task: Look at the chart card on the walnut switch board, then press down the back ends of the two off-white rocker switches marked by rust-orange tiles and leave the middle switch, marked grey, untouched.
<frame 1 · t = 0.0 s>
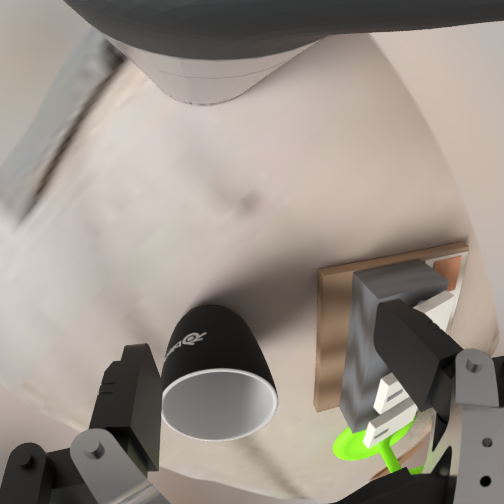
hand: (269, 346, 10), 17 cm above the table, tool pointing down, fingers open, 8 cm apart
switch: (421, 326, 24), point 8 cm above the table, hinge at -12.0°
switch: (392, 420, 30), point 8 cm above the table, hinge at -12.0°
mug: (201, 339, 31), on the table
switch middle: (406, 381, 27), point 8 cm above the table, hinge at -12.0°
switch unit: (389, 330, 35), on the table
wineglass: (375, 432, 45), on the table
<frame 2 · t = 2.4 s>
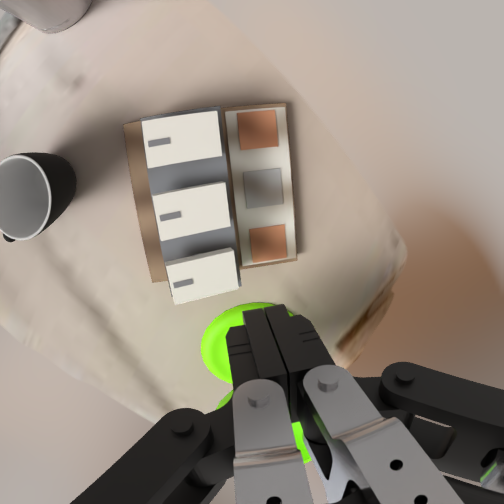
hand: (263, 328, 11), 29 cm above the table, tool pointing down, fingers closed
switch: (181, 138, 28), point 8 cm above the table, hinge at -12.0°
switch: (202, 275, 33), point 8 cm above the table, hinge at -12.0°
mug: (50, 191, 34), on the table
switch middle: (191, 210, 30), point 8 cm above the table, hinge at -12.0°
switch unit: (213, 192, 38), on the table
wineglass: (253, 346, 47), on the table
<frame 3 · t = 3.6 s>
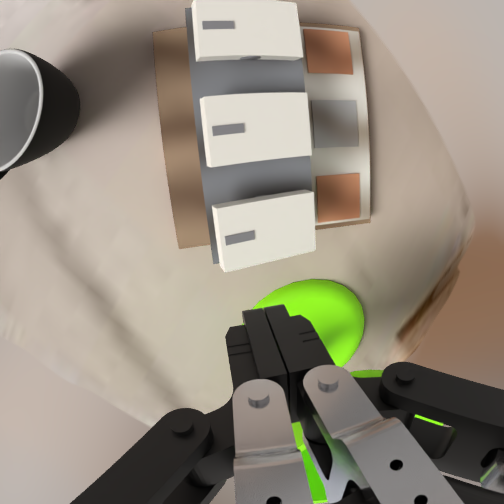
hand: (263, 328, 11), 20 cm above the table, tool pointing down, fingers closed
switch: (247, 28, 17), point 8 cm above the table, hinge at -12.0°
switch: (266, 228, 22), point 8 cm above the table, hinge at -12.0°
mug: (43, 125, 24), on the table
switch middle: (257, 126, 19), point 8 cm above the table, hinge at -12.0°
switch unit: (269, 126, 27), on the table
wineglass: (303, 338, 37), on the table
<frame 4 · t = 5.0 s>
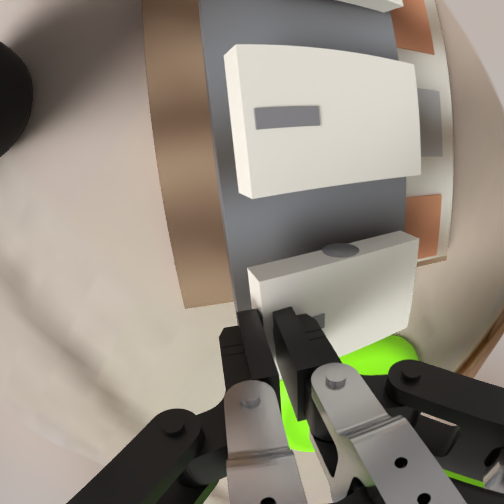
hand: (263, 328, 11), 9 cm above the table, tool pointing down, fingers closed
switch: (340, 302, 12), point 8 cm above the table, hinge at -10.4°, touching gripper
switch middle: (336, 116, 10), point 8 cm above the table, hinge at -12.0°
switch unit: (320, 120, 17), on the table
wineglass: (346, 399, 27), on the table
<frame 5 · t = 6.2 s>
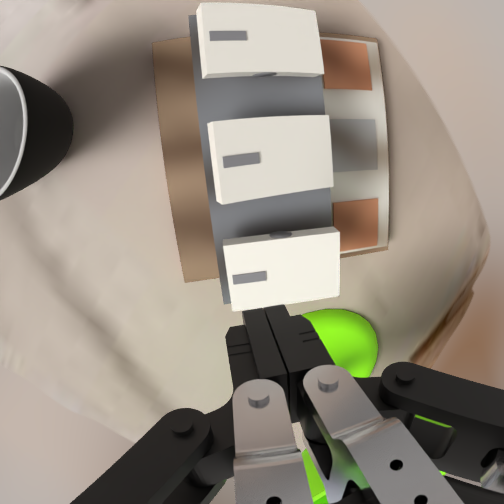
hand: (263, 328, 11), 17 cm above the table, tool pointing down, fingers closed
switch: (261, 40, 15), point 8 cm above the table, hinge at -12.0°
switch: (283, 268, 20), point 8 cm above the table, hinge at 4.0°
mug: (34, 147, 22), on the table
switch middle: (273, 155, 17), point 8 cm above the table, hinge at -12.0°
switch unit: (281, 147, 25), on the table
wineglass: (315, 367, 34), on the table
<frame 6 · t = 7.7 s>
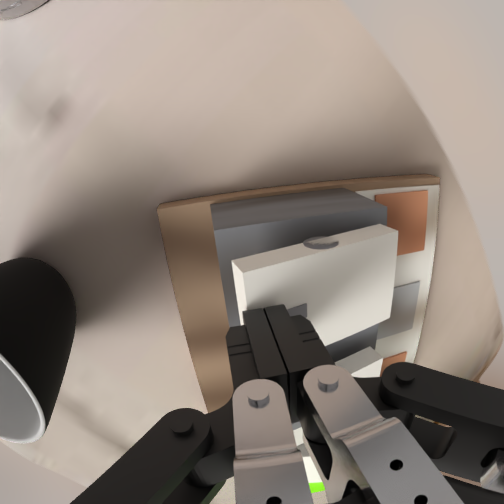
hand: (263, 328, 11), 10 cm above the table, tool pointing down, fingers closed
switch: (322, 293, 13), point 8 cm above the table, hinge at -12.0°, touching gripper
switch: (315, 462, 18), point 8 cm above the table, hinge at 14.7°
mug: (33, 309, 20), on the table
switch middle: (319, 403, 15), point 8 cm above the table, hinge at -12.0°
switch unit: (316, 316, 23), on the table
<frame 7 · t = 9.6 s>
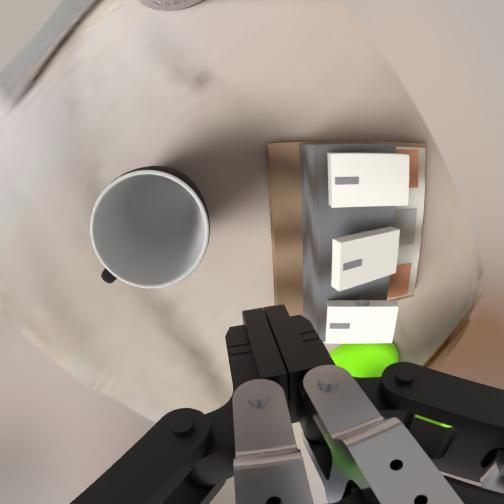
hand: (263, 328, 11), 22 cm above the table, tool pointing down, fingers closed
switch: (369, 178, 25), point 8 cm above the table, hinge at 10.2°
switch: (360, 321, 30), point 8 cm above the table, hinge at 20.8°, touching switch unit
mug: (153, 214, 31), on the table
switch middle: (366, 256, 27), point 8 cm above the table, hinge at -12.0°
switch unit: (352, 228, 35), on the table
wineglass: (353, 377, 44), on the table
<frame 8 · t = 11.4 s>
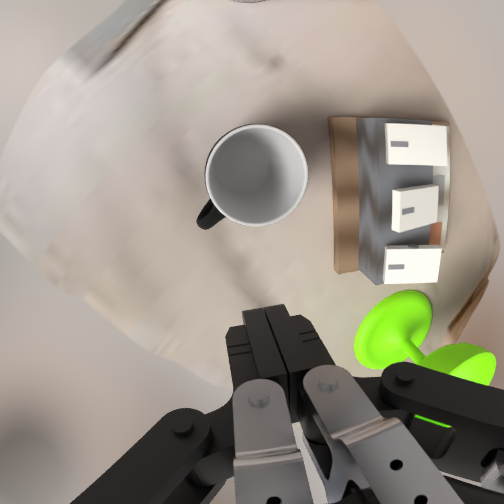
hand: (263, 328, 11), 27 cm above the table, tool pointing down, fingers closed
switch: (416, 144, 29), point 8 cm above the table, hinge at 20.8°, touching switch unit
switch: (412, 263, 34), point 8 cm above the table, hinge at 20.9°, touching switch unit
mug: (233, 175, 36), on the table
switch middle: (415, 206, 32), point 8 cm above the table, hinge at -12.0°
switch unit: (394, 191, 40), on the table
wineglass: (394, 331, 49), on the table
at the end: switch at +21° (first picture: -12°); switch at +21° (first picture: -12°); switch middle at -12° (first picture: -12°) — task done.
